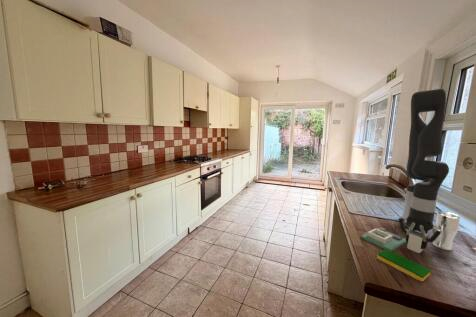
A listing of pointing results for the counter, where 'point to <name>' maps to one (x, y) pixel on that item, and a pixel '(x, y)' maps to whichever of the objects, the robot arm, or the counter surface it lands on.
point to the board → (384, 239)
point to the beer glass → (446, 229)
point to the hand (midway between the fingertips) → (415, 245)
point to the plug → (415, 241)
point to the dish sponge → (404, 265)
